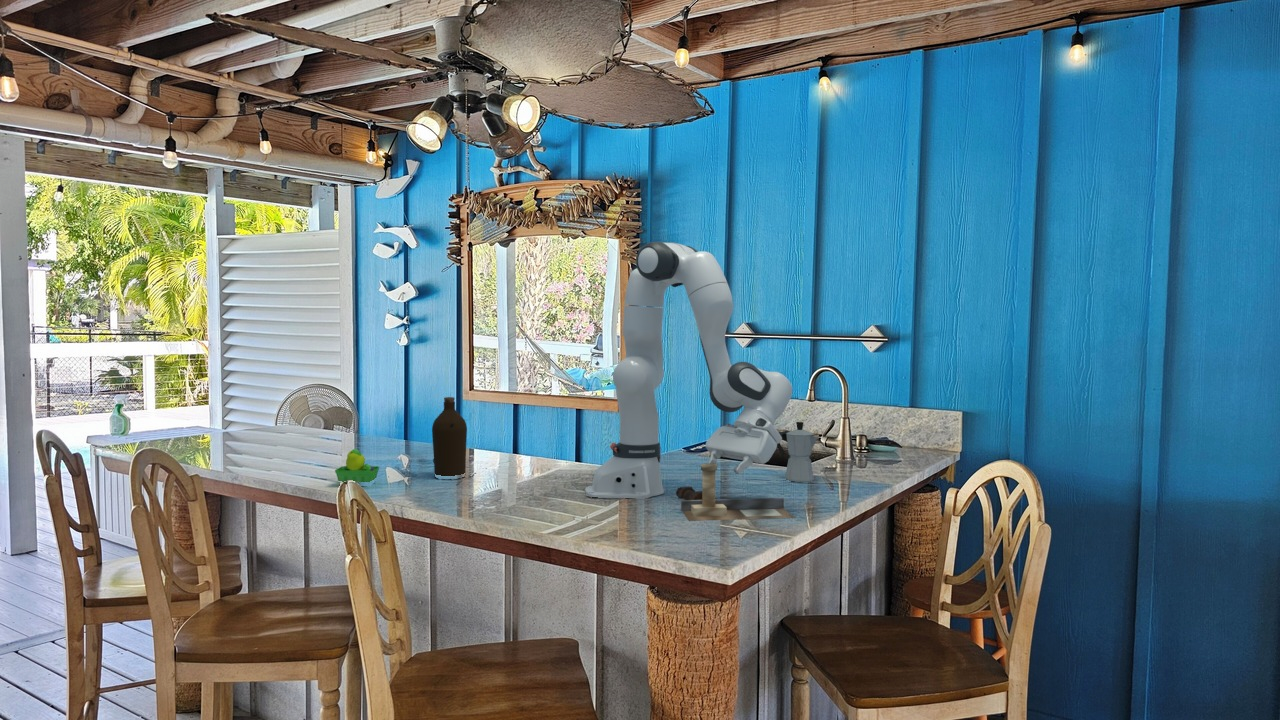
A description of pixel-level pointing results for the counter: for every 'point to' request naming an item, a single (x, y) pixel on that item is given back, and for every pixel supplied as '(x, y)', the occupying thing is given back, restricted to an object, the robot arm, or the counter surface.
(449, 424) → the olive oil
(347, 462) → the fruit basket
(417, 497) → the counter surface
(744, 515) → the board
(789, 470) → the coffee maker
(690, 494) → the bolt
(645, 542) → the counter surface
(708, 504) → the stamp
